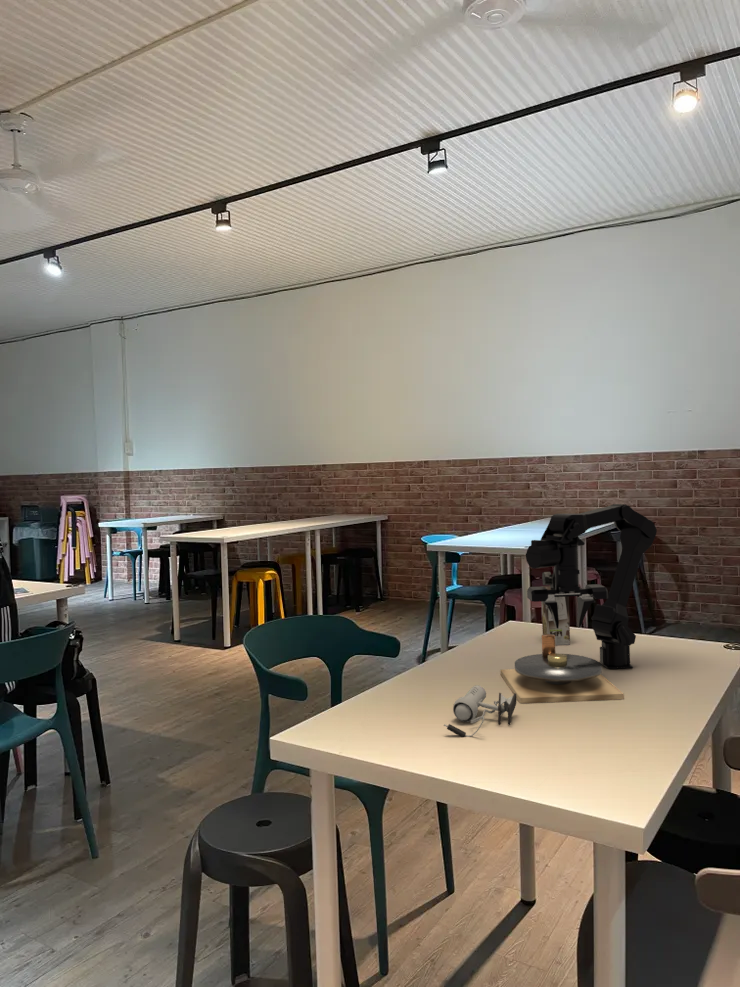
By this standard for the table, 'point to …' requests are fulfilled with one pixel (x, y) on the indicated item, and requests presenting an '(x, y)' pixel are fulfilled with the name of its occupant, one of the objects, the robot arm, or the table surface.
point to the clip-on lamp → (472, 700)
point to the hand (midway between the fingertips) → (568, 627)
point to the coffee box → (564, 626)
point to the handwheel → (557, 664)
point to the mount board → (559, 689)
